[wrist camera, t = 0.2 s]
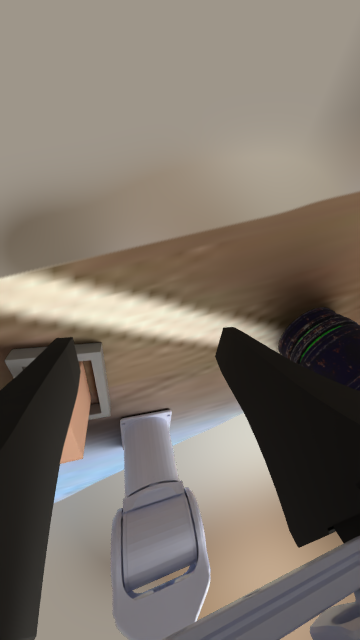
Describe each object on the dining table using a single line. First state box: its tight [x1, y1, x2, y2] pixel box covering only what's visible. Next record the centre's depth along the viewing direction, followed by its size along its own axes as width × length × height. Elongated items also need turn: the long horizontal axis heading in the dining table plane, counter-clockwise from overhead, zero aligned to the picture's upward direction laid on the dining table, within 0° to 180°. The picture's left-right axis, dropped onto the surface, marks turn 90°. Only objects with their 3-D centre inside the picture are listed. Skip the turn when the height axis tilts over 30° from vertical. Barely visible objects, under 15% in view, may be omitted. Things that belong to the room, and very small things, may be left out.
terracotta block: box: [60, 361, 91, 464], centre depth 19 cm, size 7×4×7 cm, turn 173°
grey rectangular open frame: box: [4, 343, 111, 420], centre depth 22 cm, size 12×8×2 cm
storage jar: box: [279, 308, 360, 391], centre depth 23 cm, size 10×10×15 cm
